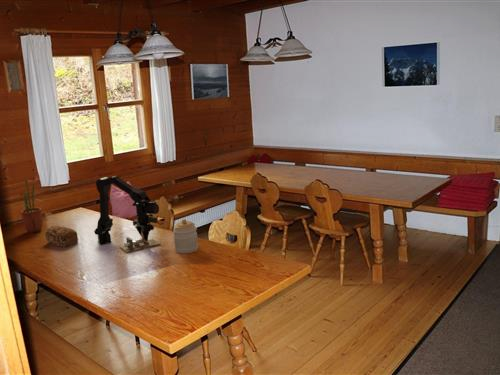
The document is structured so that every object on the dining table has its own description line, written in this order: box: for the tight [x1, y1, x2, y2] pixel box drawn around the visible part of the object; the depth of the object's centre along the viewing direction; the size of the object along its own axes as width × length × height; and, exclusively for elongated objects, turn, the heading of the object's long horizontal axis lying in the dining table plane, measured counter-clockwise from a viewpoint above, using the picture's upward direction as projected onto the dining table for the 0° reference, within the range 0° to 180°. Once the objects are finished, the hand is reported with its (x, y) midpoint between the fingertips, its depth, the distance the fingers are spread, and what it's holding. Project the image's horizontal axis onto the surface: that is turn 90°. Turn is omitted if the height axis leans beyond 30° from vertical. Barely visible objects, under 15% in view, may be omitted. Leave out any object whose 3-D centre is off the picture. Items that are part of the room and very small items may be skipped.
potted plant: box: [19, 179, 44, 234], centre depth 320 cm, size 17×16×35 cm
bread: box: [44, 225, 79, 248], centre depth 294 cm, size 19×11×10 cm, turn 55°
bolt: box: [123, 232, 149, 247], centre depth 275 cm, size 13×3×6 cm, turn 122°
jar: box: [172, 218, 199, 254], centre depth 265 cm, size 13×13×18 cm
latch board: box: [120, 236, 162, 254], centre depth 276 cm, size 20×11×6 cm, turn 122°
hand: (144, 239), depth 278 cm, fingers open, 6 cm apart
